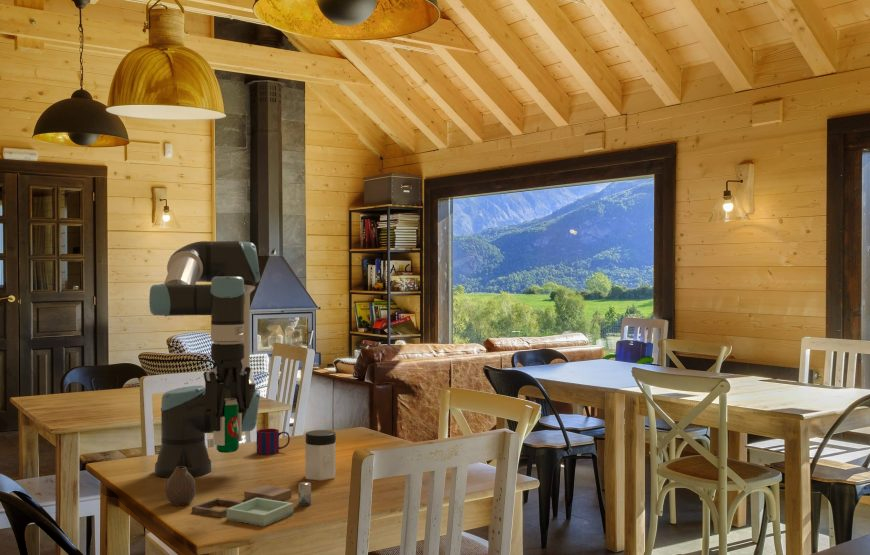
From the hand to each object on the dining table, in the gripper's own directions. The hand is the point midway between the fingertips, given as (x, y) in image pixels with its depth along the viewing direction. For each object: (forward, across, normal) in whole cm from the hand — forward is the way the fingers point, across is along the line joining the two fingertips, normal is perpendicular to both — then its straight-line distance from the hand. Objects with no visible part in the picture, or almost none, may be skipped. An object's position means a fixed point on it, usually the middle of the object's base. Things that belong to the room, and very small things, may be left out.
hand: (227, 442), depth 197 cm
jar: (+16, +38, +1) cm, 41 cm away
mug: (+16, +55, +31) cm, 65 cm away
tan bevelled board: (+17, +14, -1) cm, 21 cm away
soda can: (+2, 0, 0) cm, 2 cm away
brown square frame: (+16, 0, +3) cm, 17 cm away
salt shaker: (+16, +14, -12) cm, 24 cm away
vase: (+16, 0, +15) cm, 22 cm away
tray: (+16, +1, -9) cm, 19 cm away
